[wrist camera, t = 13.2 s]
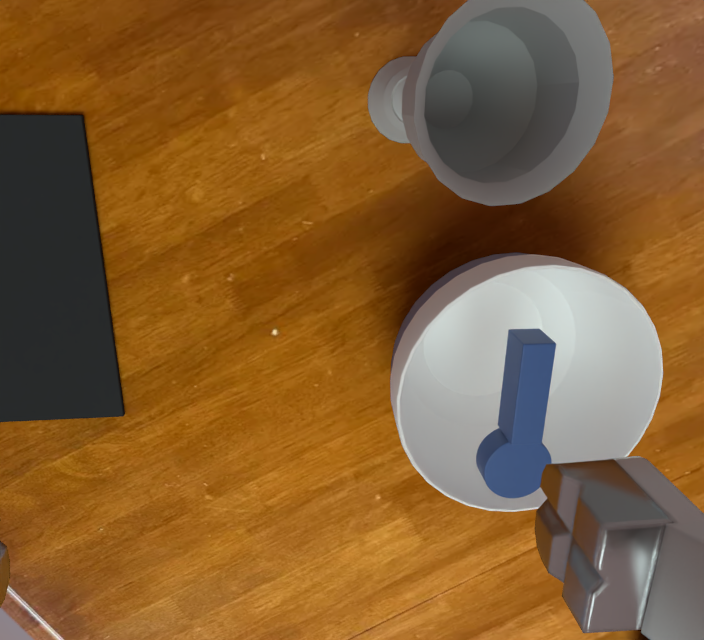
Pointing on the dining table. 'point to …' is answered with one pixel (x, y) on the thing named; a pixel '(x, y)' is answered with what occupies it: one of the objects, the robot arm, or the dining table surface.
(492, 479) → the blue spoon
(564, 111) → the chalice
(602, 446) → the bowl
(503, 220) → the dining table surface
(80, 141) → the mat
